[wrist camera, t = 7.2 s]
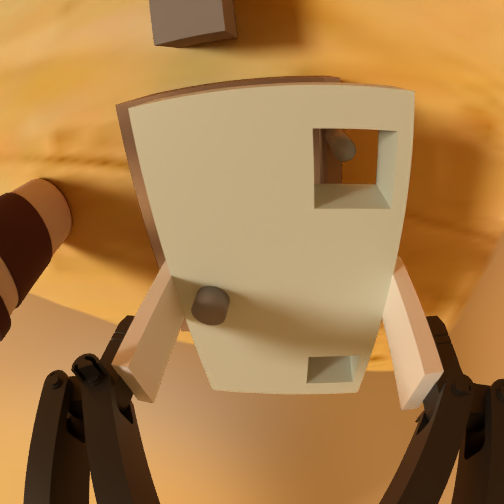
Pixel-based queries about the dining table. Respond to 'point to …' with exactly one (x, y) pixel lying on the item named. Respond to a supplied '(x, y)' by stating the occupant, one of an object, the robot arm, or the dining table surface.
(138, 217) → the dining table surface
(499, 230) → the dining table surface
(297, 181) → the door
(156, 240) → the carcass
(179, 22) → the block
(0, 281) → the coffee cup
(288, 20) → the dining table surface
